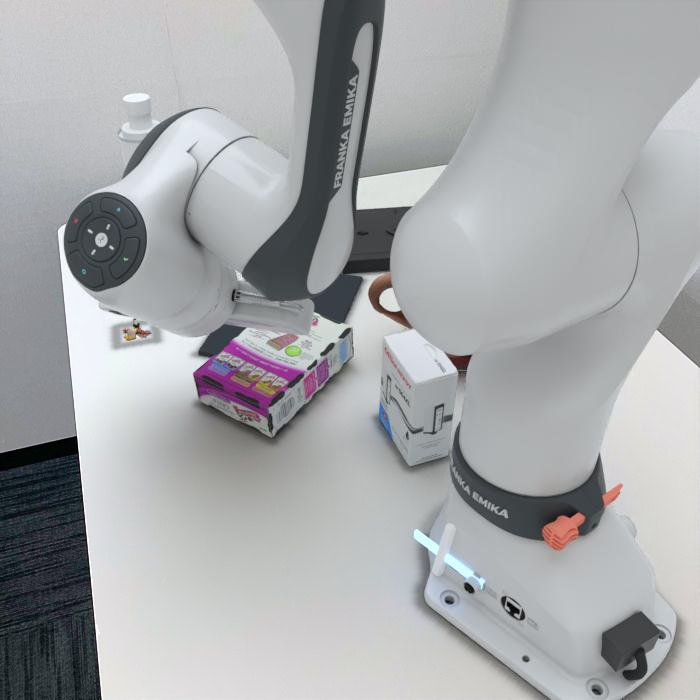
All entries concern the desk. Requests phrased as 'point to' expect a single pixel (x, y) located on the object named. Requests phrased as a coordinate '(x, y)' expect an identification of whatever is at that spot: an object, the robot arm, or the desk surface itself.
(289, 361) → the candy bar box
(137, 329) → the diorama
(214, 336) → the mat
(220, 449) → the desk surface
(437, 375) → the ink box
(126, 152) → the white bottle
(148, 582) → the desk surface
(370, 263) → the picture frame
